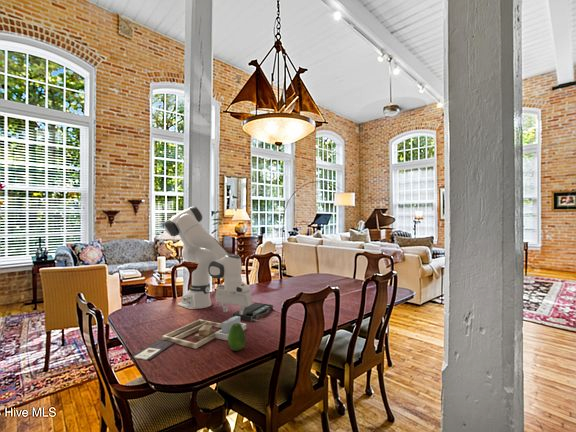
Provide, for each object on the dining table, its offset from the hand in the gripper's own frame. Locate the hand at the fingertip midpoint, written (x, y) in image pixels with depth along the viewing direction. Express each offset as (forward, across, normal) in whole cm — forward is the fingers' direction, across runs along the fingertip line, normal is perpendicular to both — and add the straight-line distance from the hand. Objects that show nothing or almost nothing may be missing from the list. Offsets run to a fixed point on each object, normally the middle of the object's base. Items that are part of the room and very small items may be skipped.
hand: (233, 312), depth 158 cm
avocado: (+10, +13, -16) cm, 23 cm away
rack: (+10, -15, -10) cm, 20 cm away
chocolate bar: (+10, -20, -32) cm, 39 cm away
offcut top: (+8, -9, -10) cm, 16 cm away
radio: (+11, -2, +30) cm, 32 cm away
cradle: (+10, 0, -1) cm, 10 cm away
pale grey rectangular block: (+10, 0, -1) cm, 10 cm away
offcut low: (+10, -9, -10) cm, 17 cm away
